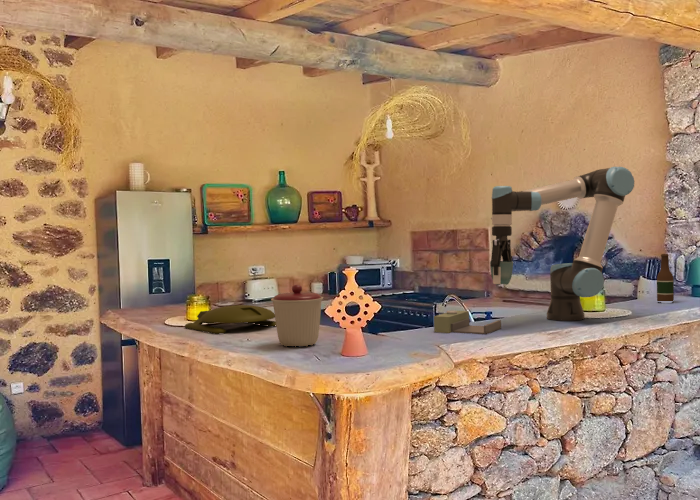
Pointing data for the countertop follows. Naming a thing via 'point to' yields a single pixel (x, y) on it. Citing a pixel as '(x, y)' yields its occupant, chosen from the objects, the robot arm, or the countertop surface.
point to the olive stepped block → (448, 320)
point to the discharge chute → (474, 327)
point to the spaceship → (232, 317)
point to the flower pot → (504, 271)
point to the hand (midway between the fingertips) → (501, 283)
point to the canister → (297, 317)
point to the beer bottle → (665, 281)
